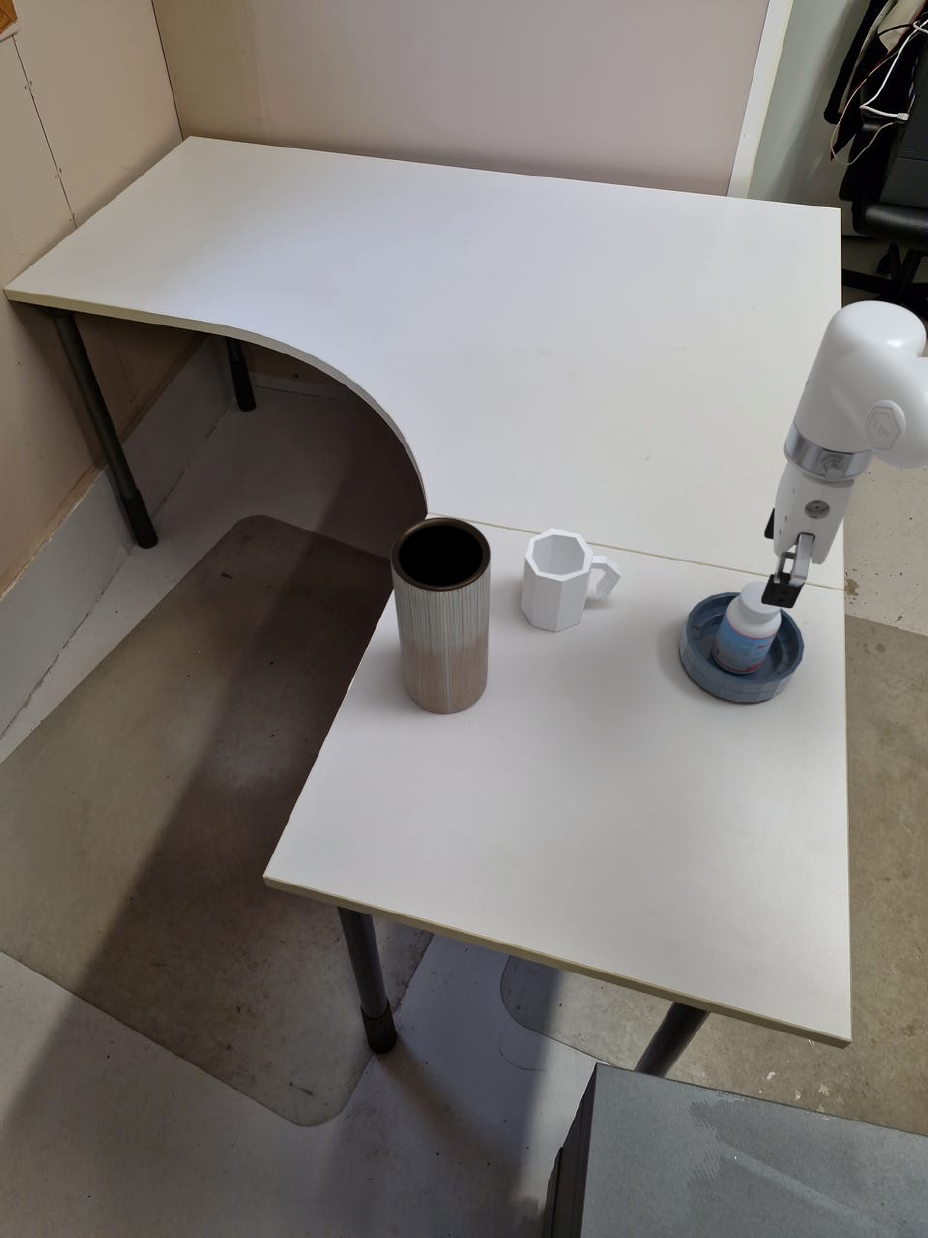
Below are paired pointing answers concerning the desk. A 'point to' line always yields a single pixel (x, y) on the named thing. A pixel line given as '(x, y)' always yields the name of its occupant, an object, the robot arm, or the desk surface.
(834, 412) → the robot arm
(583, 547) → the mug
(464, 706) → the planter
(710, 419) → the desk surface
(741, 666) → the pill bottle
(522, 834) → the desk surface
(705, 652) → the dish
